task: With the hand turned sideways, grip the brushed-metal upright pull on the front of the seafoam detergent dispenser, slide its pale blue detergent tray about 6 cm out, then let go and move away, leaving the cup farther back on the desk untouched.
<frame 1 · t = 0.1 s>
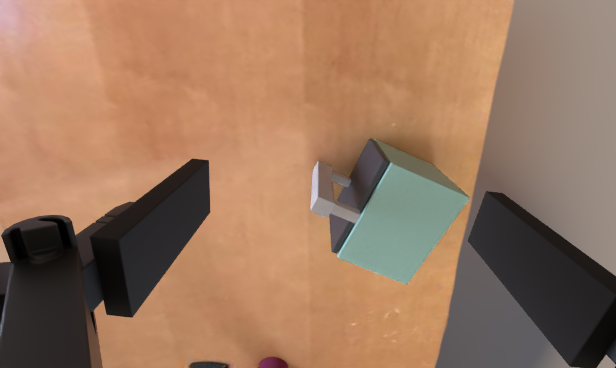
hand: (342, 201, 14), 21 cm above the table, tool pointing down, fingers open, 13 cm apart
dispenser: (381, 191, 36), on the table
detergent tray: (367, 203, 31), point 6 cm above the table, slide at 0.0 cm
cup: (273, 366, 50), on the table
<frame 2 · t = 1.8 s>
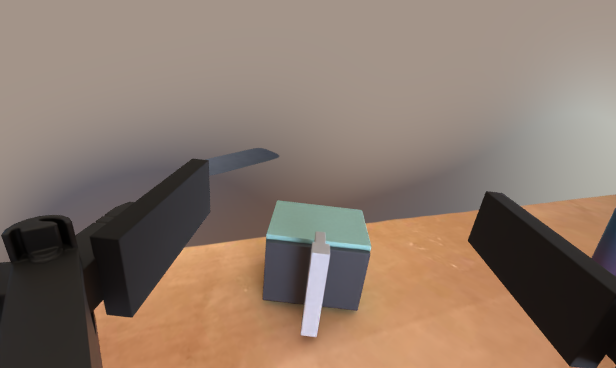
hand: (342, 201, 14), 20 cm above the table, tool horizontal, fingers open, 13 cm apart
dispenser: (310, 281, 38), on the table
detergent tray: (315, 258, 33), point 6 cm above the table, slide at 0.0 cm
cup: (592, 318, 37), on the table
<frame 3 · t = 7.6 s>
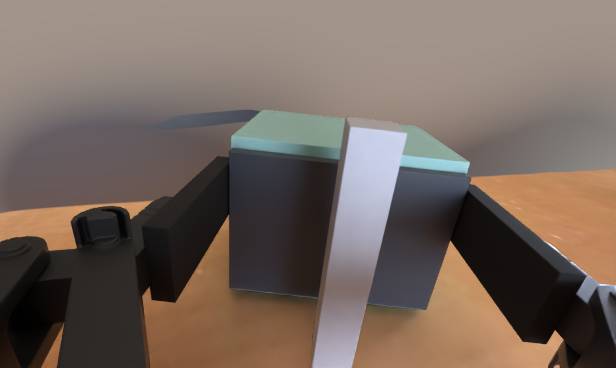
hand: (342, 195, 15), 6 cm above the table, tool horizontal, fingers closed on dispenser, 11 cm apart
dispenser: (325, 256, 21), on the table
detergent tray: (339, 200, 16), point 6 cm above the table, slide at 0.0 cm
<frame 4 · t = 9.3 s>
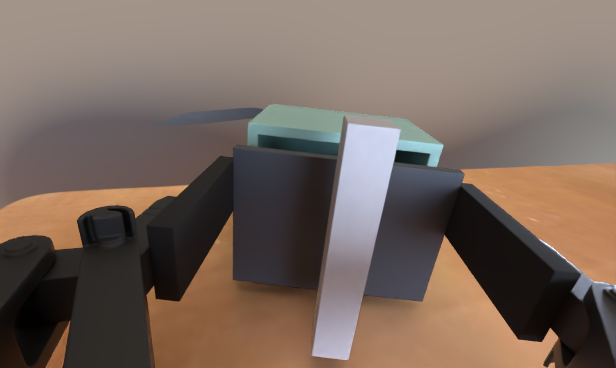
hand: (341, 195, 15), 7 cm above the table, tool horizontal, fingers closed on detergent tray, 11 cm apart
dispenser: (325, 232, 24), on the table
detergent tray: (338, 196, 16), point 6 cm above the table, slide at 2.6 cm, touching gripper
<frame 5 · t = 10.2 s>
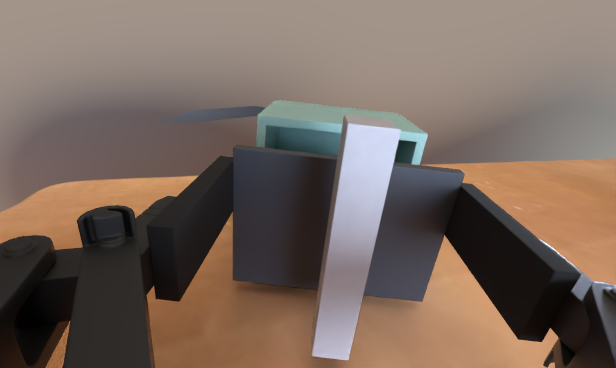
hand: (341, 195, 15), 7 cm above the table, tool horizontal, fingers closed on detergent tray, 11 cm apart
dispenser: (324, 216, 26), on the table
detergent tray: (338, 196, 16), point 6 cm above the table, slide at 5.2 cm, touching gripper
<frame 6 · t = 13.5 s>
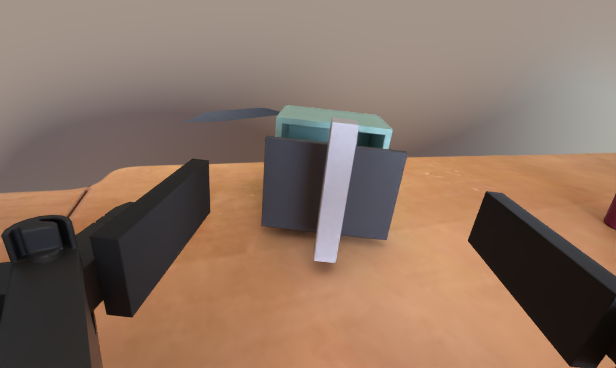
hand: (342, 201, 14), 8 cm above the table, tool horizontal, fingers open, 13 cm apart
dispenser: (322, 192, 35), on the table
detergent tray: (331, 170, 25), point 6 cm above the table, slide at 5.4 cm
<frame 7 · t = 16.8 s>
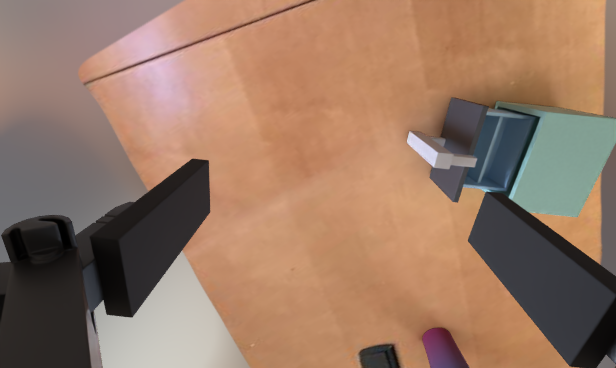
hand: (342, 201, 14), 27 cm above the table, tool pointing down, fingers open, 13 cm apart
dispenser: (512, 145, 39), on the table
detergent tray: (471, 151, 34), point 6 cm above the table, slide at 5.4 cm
cup: (436, 336, 53), on the table
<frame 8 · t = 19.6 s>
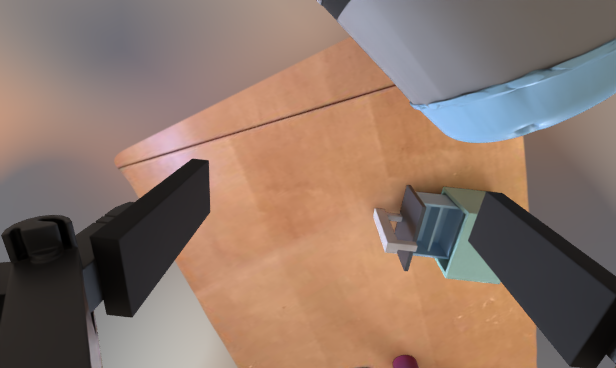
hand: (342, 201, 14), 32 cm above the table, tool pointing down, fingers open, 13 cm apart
dispenser: (457, 218, 49), on the table
detergent tray: (419, 231, 44), point 6 cm above the table, slide at 5.4 cm
cup: (404, 362, 64), on the table
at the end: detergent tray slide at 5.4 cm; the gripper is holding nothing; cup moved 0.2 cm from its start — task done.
